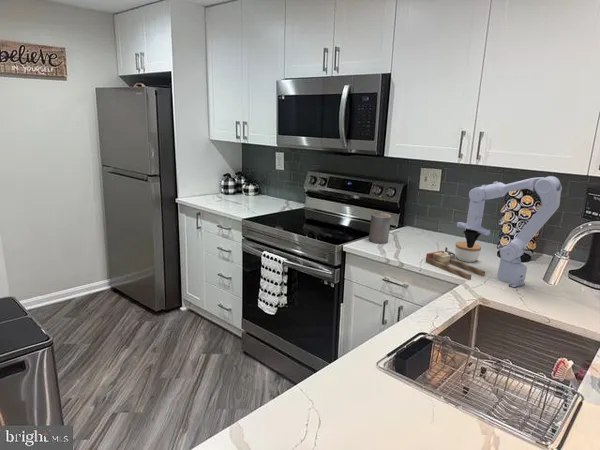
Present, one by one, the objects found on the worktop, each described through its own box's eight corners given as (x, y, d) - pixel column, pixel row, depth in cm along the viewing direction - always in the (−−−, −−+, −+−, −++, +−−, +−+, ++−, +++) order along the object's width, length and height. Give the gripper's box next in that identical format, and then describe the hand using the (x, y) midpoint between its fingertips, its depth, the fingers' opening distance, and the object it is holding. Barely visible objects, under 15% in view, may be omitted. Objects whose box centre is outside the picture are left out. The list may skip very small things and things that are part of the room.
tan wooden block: (449, 264, 185) (450, 255, 184) (441, 266, 182) (442, 257, 181) (439, 260, 189) (441, 252, 188) (431, 262, 186) (433, 253, 185)
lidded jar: (451, 262, 191) (454, 242, 189) (455, 255, 201) (458, 236, 198) (477, 267, 187) (480, 246, 184) (479, 260, 196) (483, 240, 193)
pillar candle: (367, 237, 222) (370, 209, 218) (386, 238, 222) (389, 210, 218) (369, 243, 213) (372, 214, 209) (389, 244, 213) (392, 215, 209)
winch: (455, 263, 191) (457, 250, 189) (451, 264, 189) (453, 251, 187) (446, 259, 195) (447, 247, 193) (441, 260, 193) (443, 247, 192)
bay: (484, 278, 174) (486, 266, 173) (468, 282, 169) (470, 270, 167) (440, 261, 192) (442, 250, 190) (425, 264, 186) (426, 253, 185)
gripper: (454, 212, 181) (449, 243, 184) (484, 221, 169) (479, 253, 173) (464, 211, 185) (460, 241, 188) (495, 219, 173) (489, 251, 176)
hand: (469, 247), depth 181 cm, fingers closed
